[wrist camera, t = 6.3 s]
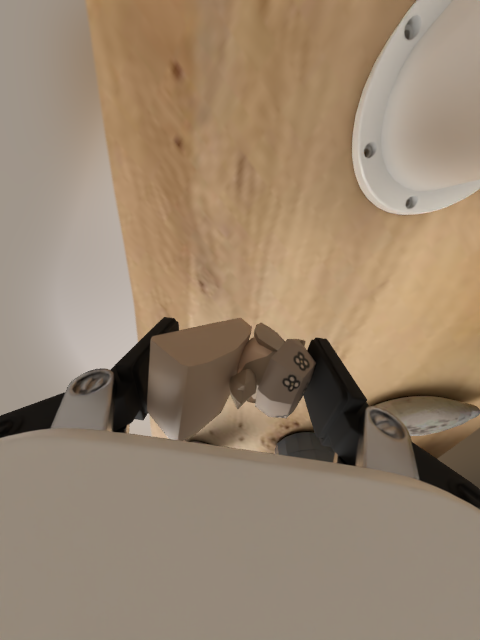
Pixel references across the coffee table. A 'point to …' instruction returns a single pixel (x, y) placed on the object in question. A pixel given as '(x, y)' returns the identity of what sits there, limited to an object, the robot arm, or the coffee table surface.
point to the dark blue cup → (304, 447)
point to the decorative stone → (429, 413)
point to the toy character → (223, 374)
